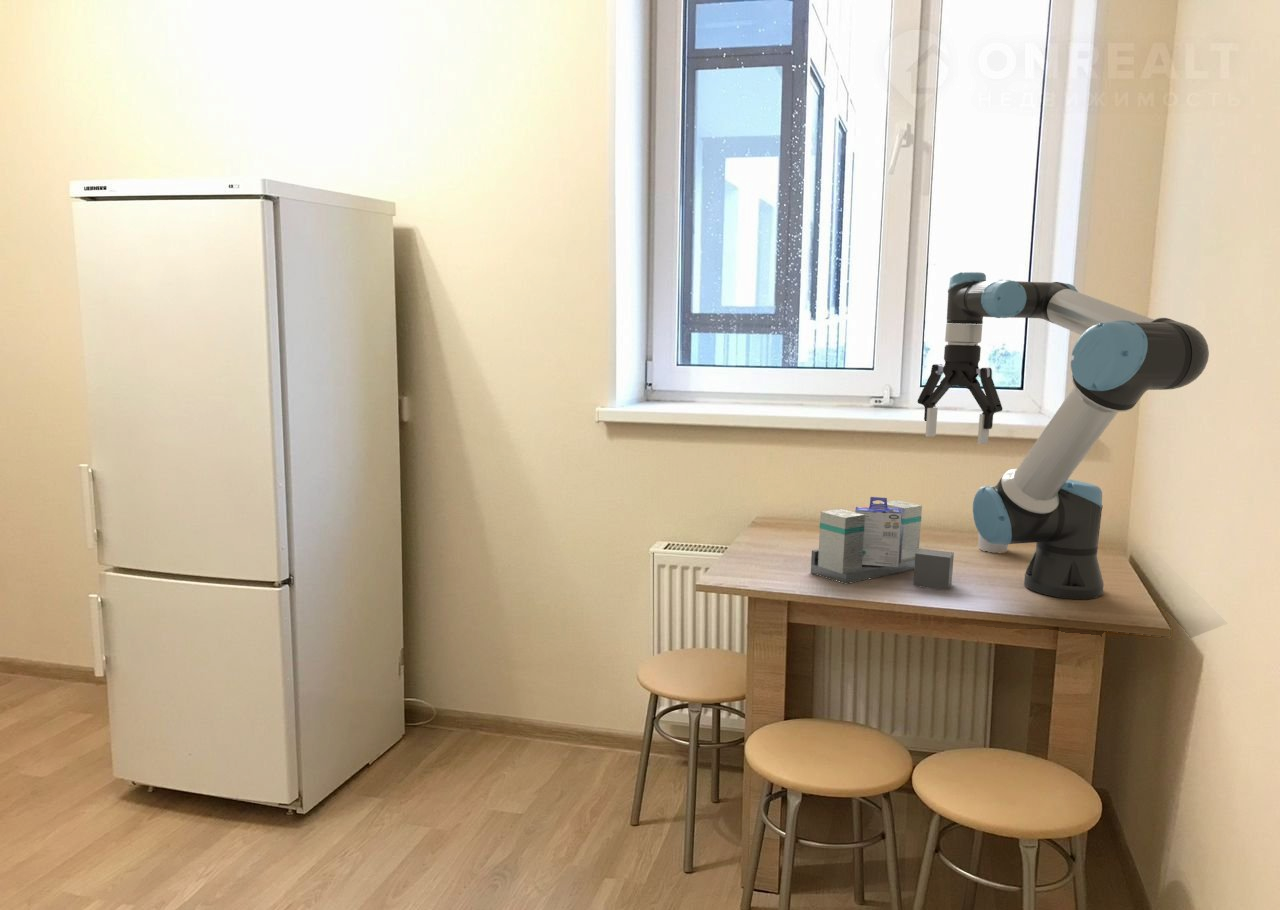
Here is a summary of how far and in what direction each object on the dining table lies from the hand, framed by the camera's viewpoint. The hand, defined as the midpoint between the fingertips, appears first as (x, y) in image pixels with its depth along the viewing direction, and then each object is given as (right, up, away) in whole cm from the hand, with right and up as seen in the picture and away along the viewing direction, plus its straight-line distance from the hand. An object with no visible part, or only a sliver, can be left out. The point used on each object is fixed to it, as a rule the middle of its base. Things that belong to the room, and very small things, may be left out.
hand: (955, 440), depth 211 cm
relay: (-9, -31, -12) cm, 34 cm away
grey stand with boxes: (-20, -29, -1) cm, 35 cm away
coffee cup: (+15, -27, +20) cm, 36 cm away
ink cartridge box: (-19, -27, -3) cm, 33 cm away
